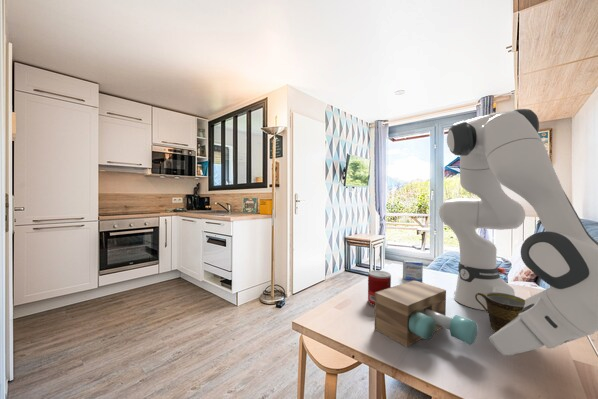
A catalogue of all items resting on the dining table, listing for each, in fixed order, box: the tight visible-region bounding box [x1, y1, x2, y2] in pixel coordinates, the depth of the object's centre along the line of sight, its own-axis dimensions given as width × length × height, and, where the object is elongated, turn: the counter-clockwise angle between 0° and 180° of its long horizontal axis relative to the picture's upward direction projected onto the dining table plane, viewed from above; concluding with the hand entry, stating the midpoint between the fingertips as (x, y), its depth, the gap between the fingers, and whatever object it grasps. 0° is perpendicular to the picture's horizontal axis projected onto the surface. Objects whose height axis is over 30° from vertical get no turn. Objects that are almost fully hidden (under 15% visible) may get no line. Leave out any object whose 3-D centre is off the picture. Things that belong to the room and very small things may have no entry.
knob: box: [424, 308, 478, 346], centre depth 68 cm, size 6×14×6 cm, turn 34°
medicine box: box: [402, 259, 424, 282], centre depth 120 cm, size 8×4×9 cm, turn 81°
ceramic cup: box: [475, 292, 526, 333], centre depth 75 cm, size 13×10×10 cm
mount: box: [374, 280, 447, 348], centre depth 74 cm, size 20×15×11 cm
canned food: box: [367, 270, 392, 306], centre depth 93 cm, size 8×8×11 cm
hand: (493, 340), depth 59 cm, fingers closed
